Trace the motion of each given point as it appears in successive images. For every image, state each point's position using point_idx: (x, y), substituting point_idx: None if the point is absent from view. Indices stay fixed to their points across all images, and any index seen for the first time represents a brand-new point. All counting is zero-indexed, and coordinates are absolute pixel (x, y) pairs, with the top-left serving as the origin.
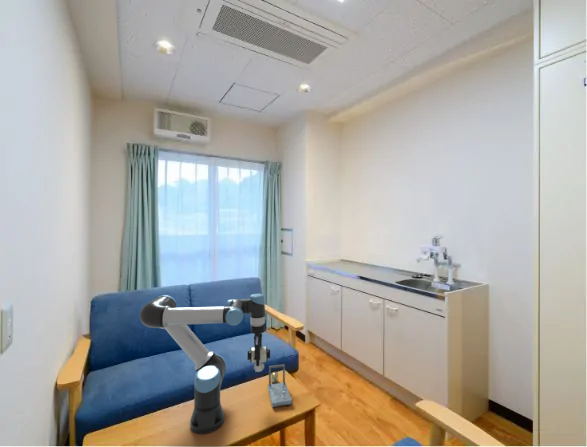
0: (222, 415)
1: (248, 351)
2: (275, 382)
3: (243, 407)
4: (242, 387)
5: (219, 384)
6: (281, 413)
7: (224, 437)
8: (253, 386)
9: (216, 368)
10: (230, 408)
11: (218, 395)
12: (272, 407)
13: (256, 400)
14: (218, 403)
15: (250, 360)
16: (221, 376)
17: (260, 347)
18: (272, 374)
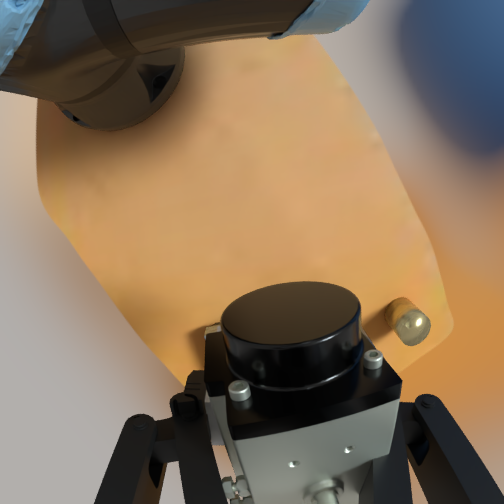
0: (99, 124)
1: (289, 360)
2: (387, 320)
3: (211, 193)
4: (372, 160)
5: (6, 86)
6: (184, 355)
7: (49, 165)
8: (378, 216)
9: (1, 1)
10: (203, 132)
11: (35, 96)
12: (215, 323)
13: (265, 248)
14: (58, 102)
15: (206, 340)
16: (89, 46)
17: (355, 492)
18: (411, 321)
